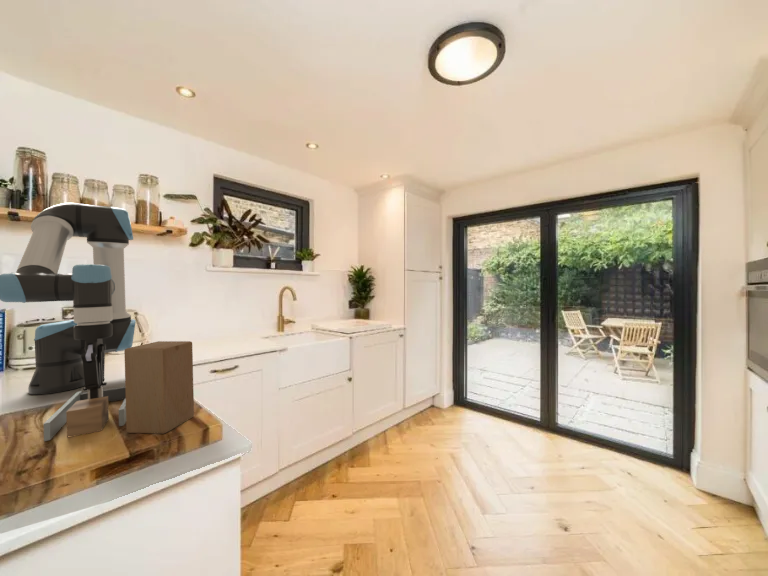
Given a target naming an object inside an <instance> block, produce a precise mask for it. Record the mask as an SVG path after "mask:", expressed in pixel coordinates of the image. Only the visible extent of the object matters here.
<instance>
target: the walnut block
mask: <svg viewBox="0 0 768 576" xmlns="http://www.w3.org/2000/svg"><path fill="white" fill-rule="evenodd" d="M109 411H110V410H109V402H108V396H106V397H100V398H93V399H87V400H80V401H76V402H75V403H74V404H73V405H72V406H71V407H70V408H69V409H68V410H67V411H66V418H67V422H66V438H69V437H68V436H72V437H75V436H74V435H77V436H81V435H80V434H82V435H86V433H87V434H91V433H97V432H101V431H102V430H103V429H104V428H105V426H106V424H107V423H108V421H109V418H110V417H109Z"/></svg>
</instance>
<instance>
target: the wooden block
mask: <svg viewBox="0 0 768 576" xmlns="http://www.w3.org/2000/svg"><path fill="white" fill-rule="evenodd" d="M123 351H124V381H125V384H124V385H125V391H126V422H125V424H126V433H131V434H134V433H135V434H160V435H161V434H162V435H163V434H166V433H168V432H170V431H172V430H174V429H175V428H177V427H179V426H180V425H182V424H183V423H185V422H187V421H189V420H190V419H191V418H193V417H194V415H195V404H194V403H195V402H194V401H195V398H194V396H195V395H194V361H193V360H194V359H193V357H194V356H193V342H192V341H188V340H187V341H186V340H183V341H181V340H178V341H176V340H175V341H172V340H171V341H165V340H164V341H162V340H161V341H160V340H159V341H155V342H150V343H144V344H141V345H136V346H132V347H131V348H127V349H125V350H123Z"/></svg>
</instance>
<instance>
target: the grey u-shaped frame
mask: <svg viewBox="0 0 768 576" xmlns="http://www.w3.org/2000/svg"><path fill="white" fill-rule="evenodd" d="M106 396H108V401H111V402H116V401H122V404H121V405H120V406H119V409H118V427H122V426H125V424H126V391H125V386H118V387H112V388H103V397H106ZM87 399H88V391H85V392H83V390H80V391H76V392H75V393H74V394H73V395H72V396H70V398H69V399H68V400H67V401H65V403H64V404H63V405H62V406H60V408H59V409H57V410H56V411H55V412H54V413H53V414H51V416H50V417H48V419H46V420H45V421H44V422H43V442H47V441H51V440H52V439H53V438H54V436H55V435H57V433H58V432H59V431H60V430H61V429H62V428H63V427H64V426H65V424H67V418H66V411H67V410H68V409H69V408H70V407H71V406H72V405H73V404H74V403H75V402H76V401H80V400H87ZM61 427H62V428H61Z"/></svg>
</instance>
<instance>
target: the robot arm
mask: <svg viewBox="0 0 768 576" xmlns="http://www.w3.org/2000/svg"><path fill="white" fill-rule="evenodd" d="M129 214H130V213H129V212H128V210H126V209H125V208H122V207H121V208H120V207H115V206H107V205H98V204H97V205H95V204H84V203H77V202H64V203H59V204H55V205H52V206H50V207H47V208H45V209H43V210H42V211H41V212H39V213H38V214H37V215H35V216H34V218H33V220H32V221H31V224H30V229H31V232H32V234H31V236H30V238H29V241H28V244H27V246H26V248H25V251H24V253H23V255H22V257H21V259H20V262H19V265H18V267H17V269H16V271H15V272H9V273H1V274H0V301H1V302H3V303H23V304H25V303H26V304H27V303H42V302H43V303H45V302H47V303H48V302H71V301H72V302H73V305H72V308H73V311H70V316H73V319H69V320H63V321H57V322H49V323H45V324H41V325H39V326H37V327H36V328H35V330H34V339H33V341H34V357H35V358H34V359H35V360H34V361H35V369H34V373H33V375H32V377H31V379H30V382H29V384H28V386H27V387H28V388H27V391H28V394H29V395H47V394H56V393H61V392H66V391H70V390H71V391H72V390H76V389H79V388H82V387H84V388H83V390H82V391H85V392H86V391H87V392H88V399H93V398H100V397H103V390H104V386H107V383H108V382H105V367H106V365H105V361H106V356H105V355H106V353H114V352H115V353H118V352H121V351H122V352H123V351H125V349H127V348H131V347H133V343H134V337H135V336H134V335H135V329H136V323H137V322H136V319H133V318H132V314H130V313H129V312H127V309H126V281H125V279H126V278H125V276H126V275H125V248H126V247H129V244H130V241H132V240H134V235H133V234H134V233H133V229H132V224H131V220H130V215H129ZM72 237H76V238H86V243H87V244H88V245H89V246H90V247H92V258H93V260H92V261H93V264H91V263H90V264H89V263H88V264H87V263H84V264H83V263H82V264H75V265H73V266H72V267H71V268H72V271H71V272H72V273H59V269H60V266H61V262H62V259H63V255H64V251H65V247H66V245H67V242H68V241H69V240H70V239H72Z"/></svg>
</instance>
